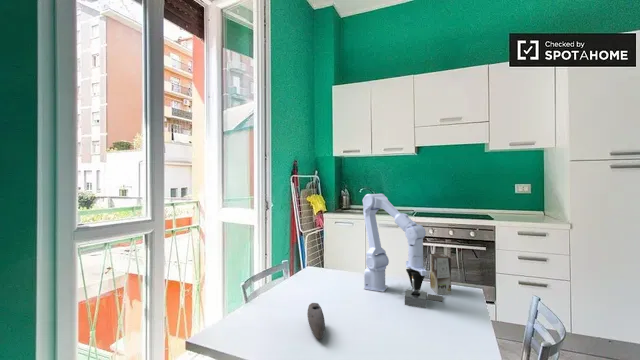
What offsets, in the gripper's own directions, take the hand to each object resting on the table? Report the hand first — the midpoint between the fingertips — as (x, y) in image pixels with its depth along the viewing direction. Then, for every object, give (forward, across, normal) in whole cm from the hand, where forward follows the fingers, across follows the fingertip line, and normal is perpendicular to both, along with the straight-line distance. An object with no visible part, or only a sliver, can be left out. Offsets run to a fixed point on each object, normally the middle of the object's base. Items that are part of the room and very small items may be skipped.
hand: (415, 288), depth 117 cm
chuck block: (+6, -3, +2) cm, 7 cm away
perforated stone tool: (+6, +17, -43) cm, 47 cm away
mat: (+6, -3, +10) cm, 12 cm away
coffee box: (+6, -11, +17) cm, 21 cm away
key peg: (+3, 0, 0) cm, 3 cm away
